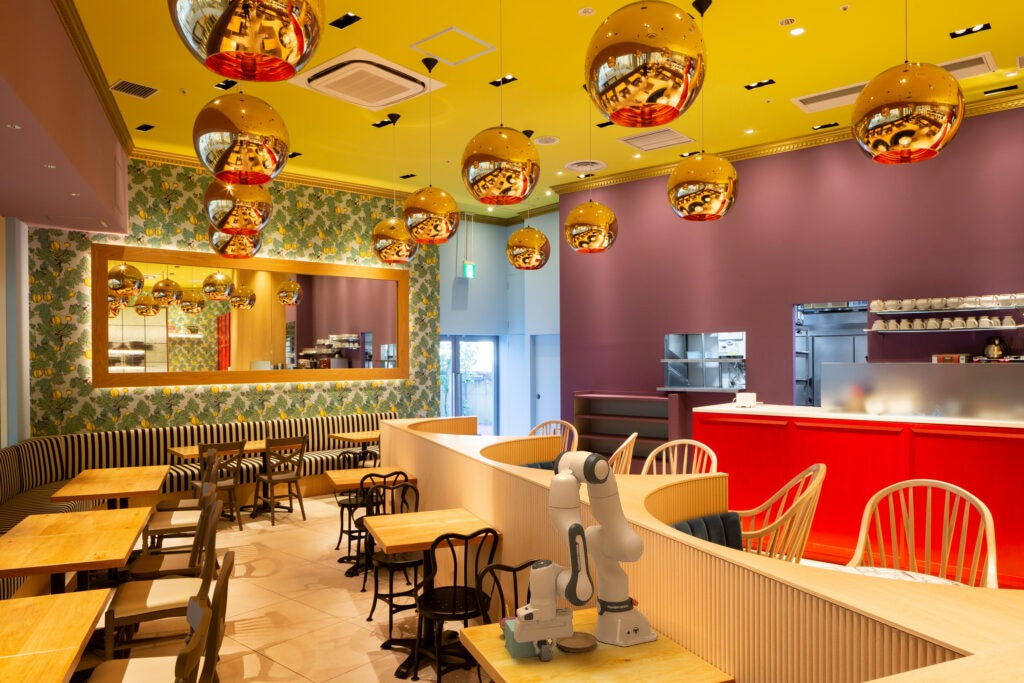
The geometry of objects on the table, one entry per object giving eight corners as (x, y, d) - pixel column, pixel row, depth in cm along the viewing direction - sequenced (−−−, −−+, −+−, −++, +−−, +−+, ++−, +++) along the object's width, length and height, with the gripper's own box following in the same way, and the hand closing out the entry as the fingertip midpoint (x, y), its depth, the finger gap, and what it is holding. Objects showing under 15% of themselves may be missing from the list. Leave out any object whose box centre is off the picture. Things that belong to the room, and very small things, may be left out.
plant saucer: (591, 657, 226) (591, 649, 226) (549, 652, 231) (549, 644, 231) (600, 641, 240) (600, 634, 240) (561, 636, 245) (561, 629, 245)
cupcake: (495, 639, 243) (495, 605, 244) (506, 631, 250) (506, 598, 251) (516, 643, 239) (516, 608, 240) (527, 635, 246) (526, 601, 247)
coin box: (538, 642, 239) (537, 617, 240) (546, 654, 229) (546, 628, 229) (505, 645, 237) (505, 620, 237) (512, 658, 226) (512, 631, 226)
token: (546, 653, 228) (546, 638, 228) (550, 659, 223) (550, 644, 223) (538, 654, 227) (537, 639, 228) (542, 660, 222) (541, 645, 223)
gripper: (569, 604, 231) (570, 645, 231) (512, 610, 227) (513, 651, 226) (575, 610, 225) (576, 652, 225) (516, 616, 221) (517, 659, 220)
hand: (544, 652), depth 225 cm, fingers closed on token, 3 cm apart
